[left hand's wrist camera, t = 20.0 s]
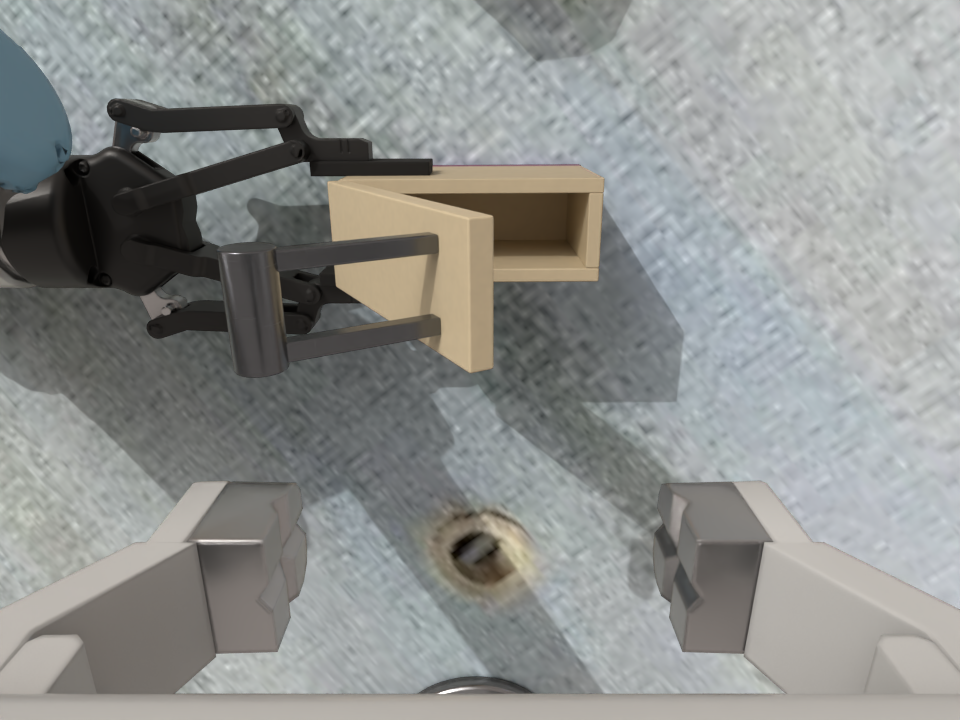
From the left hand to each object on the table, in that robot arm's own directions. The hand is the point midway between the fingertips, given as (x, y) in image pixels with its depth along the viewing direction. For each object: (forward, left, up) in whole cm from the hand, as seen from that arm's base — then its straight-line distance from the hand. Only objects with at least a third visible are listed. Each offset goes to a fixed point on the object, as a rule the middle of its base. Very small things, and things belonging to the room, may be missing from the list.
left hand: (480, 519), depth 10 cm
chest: (0, 0, -36) cm, 36 cm away
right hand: (+3, -1, -30) cm, 30 cm away
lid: (+3, -1, -20) cm, 20 cm away
